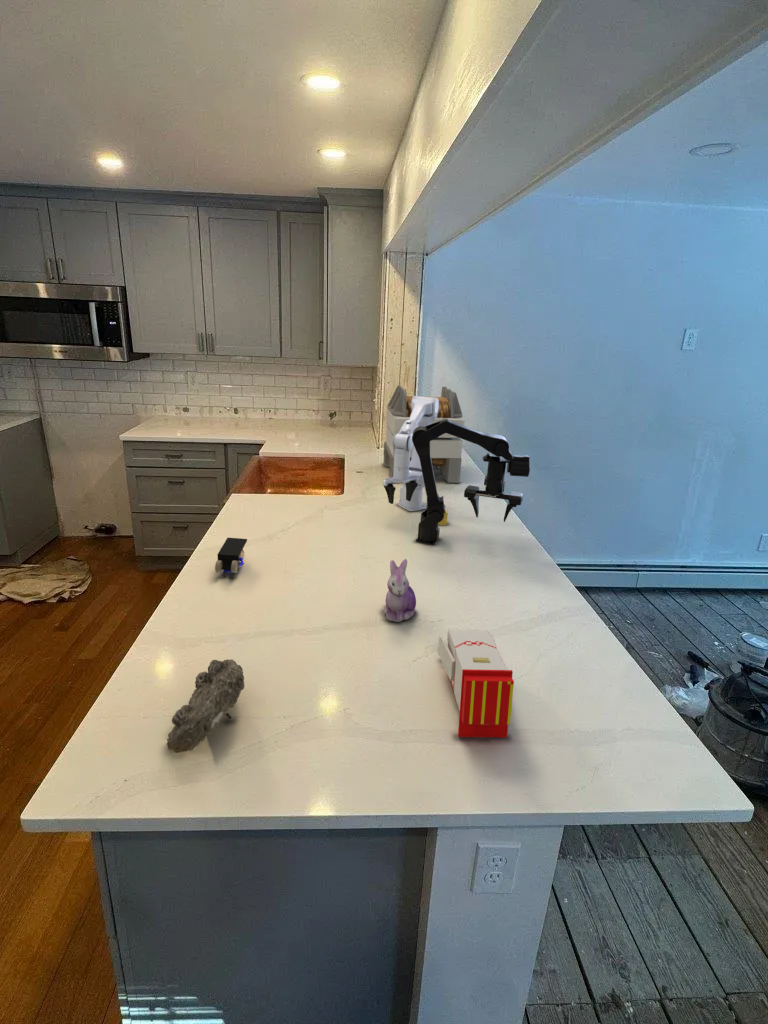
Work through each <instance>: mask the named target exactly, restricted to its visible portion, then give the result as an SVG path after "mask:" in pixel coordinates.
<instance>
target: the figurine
mask: <svg viewBox="0 0 768 1024" xmlns="http://www.w3.org/2000/svg"><path fill="white" fill-rule="evenodd" d="M407 567H408V559H406V558H404V559H403V560H402V561H401V563H400V565H399V566H398V565H397V563H396V562H395V561H394V560H393V559H391V560H390V561H389V570H390V576H389V578H388V579H387V589H388V591H387V592H386V594H385V595H386V596H385V607H384V615H385V616H386V620H387V621H391V622H395V623H400V622H402V621H406V620H409V619H410V618H411V617H413V616H414V615H415V610H416V606H417V597H416V593H415V591H414V590H413V587H411V586H410V582H409V579H408V577H407V574H406V571H407Z"/></svg>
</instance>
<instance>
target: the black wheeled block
mask: <svg viewBox="0 0 768 1024" xmlns="http://www.w3.org/2000/svg"><path fill="white" fill-rule="evenodd" d="M247 542H248V538H240V537H226V539H225V541H224V543H223V544H222V546H221V547H220V549H219V551H218V552H217V560H216V562H215V564H214V572H215V573H221V577H222V578H224V577H225V576H226V574H227V573H230V574H231V573H232V574H231V578H234V577H235V575H236V573H237V572H239V571H240V567H242V566H243V565H244V564H245V562H244V558H245V551H244V547H245V546H246V544H247Z"/></svg>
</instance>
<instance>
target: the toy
mask: <svg viewBox="0 0 768 1024" xmlns="http://www.w3.org/2000/svg"><path fill="white" fill-rule="evenodd" d="M446 640H447V643H446V641H445V639H444V636H443V635H442V634H439V637H438V646H437V656H438V657H439V659H440V661H441V663H442V666H443V668H444V670H445V672H446V674H447V677H448V679H449V681H450V684H451V687H452V690H453V693H454V697H455V701H456V705H457V708H458V711H459V714H458V715H459V716H458V730H457V731H458V732H457V737H458V738H508V731H509V726H510V725H511V717H512V707H513V697H514V696H513V695H514V684H515V680H514V679H513V673H514V671H513V670H512V669H508V667H507V665H506V662H505V661H504V659H503V658H502V655H501V653H500V651H499V649H498V647H497V643H496V639H495V637H494V635H493V634H491V632H490V631H489V629H467V628H466V629H465V628H463V629H461V628H460V629H459V628H448V630H447V639H446Z"/></svg>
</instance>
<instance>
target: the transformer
mask: <svg viewBox="0 0 768 1024" xmlns="http://www.w3.org/2000/svg"><path fill="white" fill-rule="evenodd" d="M440 393H441V394H440V396H430V397H431V398H437V399H438V401H439V409H438V414H437V418H436V420H435V421H433V422H432V423H431V424H433V423H436V422H439V421H441V420H442V419H449V420H450V421H452V422H455V423H457V424H460V425H463V426H465V419H464V418H463V411H462V408H461V405H460V402H459V398H458V395H457V392H455V391H453V390H452V389H451V388H447V386H442V387H441V392H440ZM407 394H408V393H407V390H406V389H404V388H403V387H402V385H399V384H398V385H397V386H396V388H395V390H394V392H393V394H392V395H391V398H390V400H389V402H388V404H387V405H386V413H385V414H386V415H385V423H386V428H385V438H384V442H383V466H384V467H388V468H389V475H388V476H389V477H388V478H391V477H393V472H394V454H393V446H392V442H393V437H394V435H395V434H397V433H399V431H400V430H401V428H402V426H403V424H404V422H405V421H406V420H409V418H410V415H411V413H412V409H411V401H412V398H413V397H414V396H415V395H414V396H413V395H412V396H411V395H407ZM418 425H419V423H418ZM463 442H464V441H463V439H461V438H458V437H456V436H453V435H450V434H448V433H445V434H443V435H441V436H439V437H437V438H436V439H434V440H432V441H430V456H431V461H432V466H433V467H436V468H437V470H438V469H439V473H440V474H441V475H443V478H444V479H445V481H446V482H447V483H449V484H455V483H456V484H459V483H461V472H462V461H463V460H462V453H463ZM413 449H414V444H413V447H412V449H411V450H410V461H411V459H412V454H413Z"/></svg>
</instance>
